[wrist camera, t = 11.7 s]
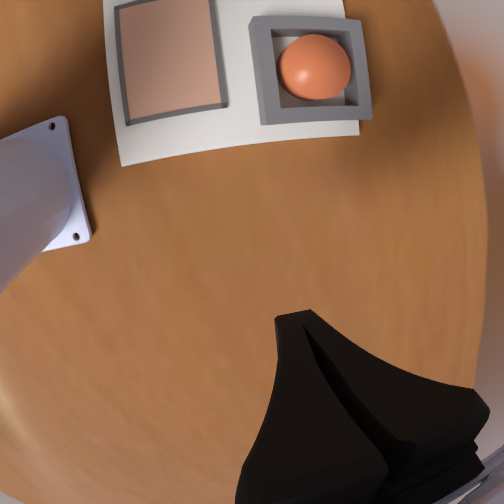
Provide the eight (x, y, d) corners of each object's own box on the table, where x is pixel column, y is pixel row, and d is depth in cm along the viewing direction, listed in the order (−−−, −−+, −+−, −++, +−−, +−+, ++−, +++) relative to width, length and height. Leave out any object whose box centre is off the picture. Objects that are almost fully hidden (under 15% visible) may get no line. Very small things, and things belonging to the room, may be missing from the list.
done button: (279, 102, 16) (288, 100, 14) (272, 43, 14) (280, 34, 13) (339, 100, 16) (354, 98, 14) (332, 43, 15) (346, 36, 13)
